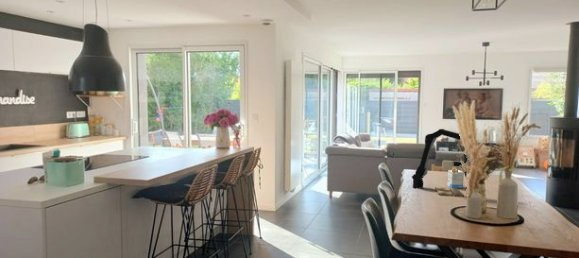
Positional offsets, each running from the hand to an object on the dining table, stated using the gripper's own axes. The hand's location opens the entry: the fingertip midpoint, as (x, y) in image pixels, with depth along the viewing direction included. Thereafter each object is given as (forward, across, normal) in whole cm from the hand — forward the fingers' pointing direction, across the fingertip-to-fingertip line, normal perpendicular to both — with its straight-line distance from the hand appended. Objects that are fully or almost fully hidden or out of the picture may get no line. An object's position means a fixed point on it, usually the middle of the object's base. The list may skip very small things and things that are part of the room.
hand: (467, 177), depth 268 cm
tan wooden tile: (+12, -6, +3) cm, 14 cm away
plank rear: (+12, -14, +8) cm, 20 cm away
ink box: (+12, -3, +23) cm, 26 cm away
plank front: (+12, -14, -3) cm, 18 cm away
